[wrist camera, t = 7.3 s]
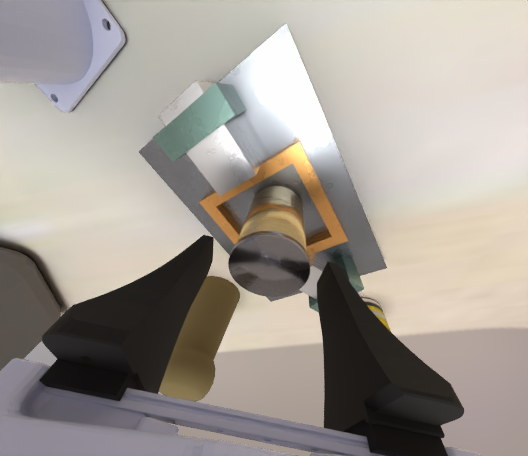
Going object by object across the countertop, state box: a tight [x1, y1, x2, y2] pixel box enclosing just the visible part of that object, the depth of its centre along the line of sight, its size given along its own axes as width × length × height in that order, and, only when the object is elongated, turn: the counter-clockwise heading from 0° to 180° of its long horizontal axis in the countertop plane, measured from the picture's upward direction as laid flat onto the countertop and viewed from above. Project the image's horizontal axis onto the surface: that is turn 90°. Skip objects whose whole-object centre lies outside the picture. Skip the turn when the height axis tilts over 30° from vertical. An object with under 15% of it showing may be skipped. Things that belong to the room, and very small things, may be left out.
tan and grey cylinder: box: [229, 186, 310, 297], centre depth 14 cm, size 5×5×7 cm
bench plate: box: [139, 24, 387, 312], centre depth 17 cm, size 20×13×5 cm, turn 32°
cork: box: [159, 276, 240, 402], centre depth 22 cm, size 6×6×11 cm
